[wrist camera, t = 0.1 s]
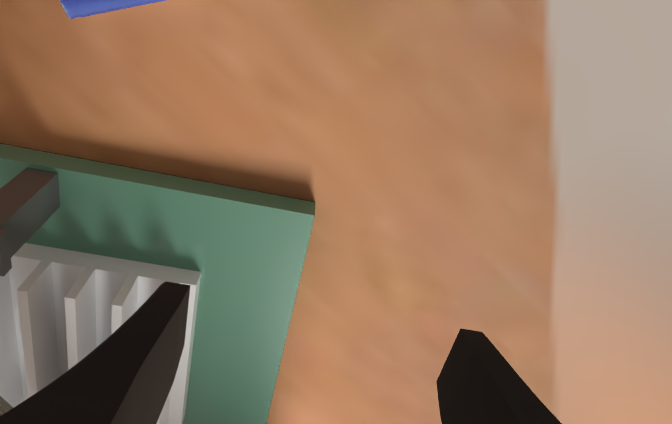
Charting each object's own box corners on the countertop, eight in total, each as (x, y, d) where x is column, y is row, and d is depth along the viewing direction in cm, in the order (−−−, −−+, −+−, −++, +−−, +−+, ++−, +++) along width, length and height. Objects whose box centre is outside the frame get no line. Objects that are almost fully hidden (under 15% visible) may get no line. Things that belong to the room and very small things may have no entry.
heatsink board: (253, 469, 32) (239, 574, 27) (-46, 434, 30) (-125, 541, 25) (315, 202, 23) (312, 284, 17) (-118, 121, 20) (-271, 187, 15)
